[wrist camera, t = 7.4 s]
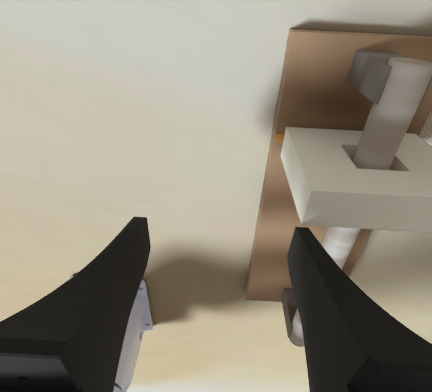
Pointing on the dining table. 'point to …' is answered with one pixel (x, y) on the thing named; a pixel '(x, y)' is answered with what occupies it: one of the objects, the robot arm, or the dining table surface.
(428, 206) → the collar
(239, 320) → the dining table surface
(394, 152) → the slider rail
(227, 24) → the dining table surface
